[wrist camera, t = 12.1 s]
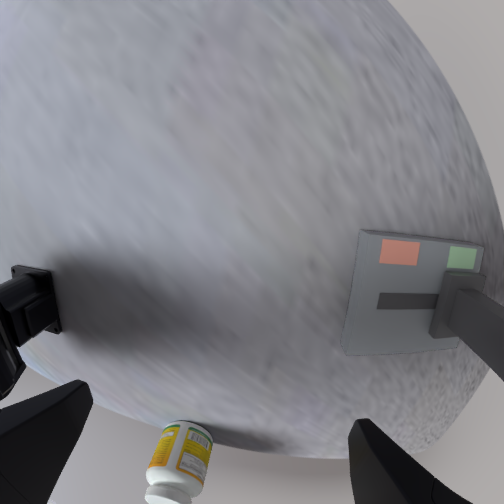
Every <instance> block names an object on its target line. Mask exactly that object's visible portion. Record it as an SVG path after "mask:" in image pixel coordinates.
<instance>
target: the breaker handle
mask: <svg viewBox="0 0 504 504" xmlns="http://www.w3.org/2000/svg"><path fill="white" fill-rule="evenodd" d="M485 279H486V276H484V275H482V274H480V273H470V272H451V271H445V272H444V276H443V281H442V285H441V289H440V293H439V297H438V301H437V305H436V308H435V312H434V315H433V319H432V322H431V325H430V329H429V332H428V333H429V334H430V335H431V337H432V338H433V339H440V338H451V337H459V338H460V339H461V340H462V341H463V342H465V343H466V344H467V345H468V346H469V347H470V348H471V349H472V350H473V351H474V352H475V353H476V354H477V355H478V356H479V357H480V358H481V359H482V360H483V361H484V362H485V363H486V364H487V365H488V366H489V367H490V368H491V369H492V370H493V371H494V372H495V373H496V374H497V375H498V376H499V377H500V378H501V379H502V380H503V381H504V307H503V306H502V305H500V304H498V303H497V302H495V301H494V300H492V299H491V298H489V297H487V296H486V295H484V294H482V291H483V287H484V283H485Z"/></svg>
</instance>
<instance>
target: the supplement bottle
mask: <svg viewBox="0 0 504 504" xmlns="http://www.w3.org/2000/svg"><path fill="white" fill-rule="evenodd" d="M212 445H213V440H212V437H211V435H210V434H209V433H208V431H206V430H205V429H204V428H202V427H201V426H199V425H196V424H194V423H190V422H186V421H176V422H172V423H170V424H168V425H167V426H166V427H165V429H164V431H163V433H162V436H161V438H160V440H159V443H158V445H157V448H156V450H155V453H154V455H153V457H152V460H151V462H150V464H149V467H148V470H147V472H146V478H147V481H148V482H149V484H150V485H151V486H150V487H149V488H148V489H147V492H146V495H145V500H146V501H147V502H148V503H149V504H191V503H192V501H191V498H193V497H196V496H198V495H199V494H200V493H201V491H202V489H203V485H204V480H205V476H206V472H207V467H208V463H209V458H210V454H211V450H212Z"/></svg>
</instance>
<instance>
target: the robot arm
mask: <svg viewBox="0 0 504 504" xmlns="http://www.w3.org/2000/svg"><path fill="white" fill-rule="evenodd" d="M11 272H12V278H13V279H11V280H8V281H6V282H4V283H2V284H0V401H1V400H2V399H4V398H5V397H6V396H8V395H9V393H10V392H11V390H12V389H13V387H14V385H15V384H16V382H17V381H18V379H19V378H20V376H21V374H22V373H23V371H24V370H25V368H26V364H25V362H24V361H23V360H22V358H21V356H20V354H19V351H18V349H17V347H21V346H22V345H23V344H25V343H26V342H27V341H29V340H30V339H31V338H34V337H35V336H37V335H38V334H39V333H41V332H42V331H43V330H45V331H48V332H51V333H54V334H60V333H61V332H62V329H61V325H60V320H59V316H58V311H57V306H56V301H55V295H54V290H53V283H52V277H51V274H50V272H48V271H44V270H38V269H32V268H27V267H21V266H16V265H15V266H12V267H11ZM92 405H93V397H92V394H91V391H90V388H89V385H88V384H87V383H86V382H84V381H81V380H74V381H72V382H69V383H67V384H64V385H62V386H60V387H57V388H55V389H52V390H50V391H47V392H45V393H42V394H39V395H37V396H34V397H32V398H29V399H26V400H24V401H21V402H19V403H16V404H13V405H11V406H8V407H5V408H3V409H0V504H47V502H48V500H49V497H50V495H51V493H52V491H53V489H54V487H55V485H56V483H57V480H58V478H59V476H60V474H61V472H62V470H63V468H64V466H65V464H66V462H67V460H68V458H69V456H70V454H71V452H72V451H73V449H74V447H75V445H76V443H77V441H78V439H79V437H80V435H81V432H82V430H83V428H84V425H85V422H86V420H87V417H88V415H89V412H90V410H91V408H92ZM348 446H349V460H350V477H351V484H352V489H353V495H354V500H355V504H473V503H471V502H469V501H467V500H466V499H464V498H462V497H461V496H459V495H458V494H456V493H455V492H453V491H452V490H450V489H449V488H448V487H447V486H445V485H444V484H443V483H442V482H440V481H439V480H438V479H437V478H434V476H433V475H432V474H431V473H429V472H428V471H427V470H426V469H425V468H424V467H422V466H421V465H420V464H419V463H418V462H417V461H415V460H414V459H413V458H412V457H411V456H410V455H409V454H408V453H406V452H405V451H404V450H403V449H402V448H401V447H400V446H398V445H397V444H396V443H395V442H394V441H393V440H392V439H391V438H390V437H388V436H387V435H386V434H385V433H384V432H383V431H382V430H381V429H380V428H379V427H377V426H376V425H375V424H374V423H373V422H372V421H371V420H370V419H368V418H364V419H357V420H356V421H355V422H354V425H353V427H352V429H351V431H350V433H349V436H348Z"/></svg>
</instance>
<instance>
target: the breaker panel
mask: <svg viewBox="0 0 504 504" xmlns="http://www.w3.org/2000/svg"><path fill="white" fill-rule="evenodd" d="M483 251H484V247H481V246H479V245H476V244H473V243H470V242H463V241H456V240H448V239H440V238H432V237H424V236H415V235H407V234H398V233H388V232H379V231H369V230H360V232H359V240H358V248H357V255H356V262H355V269H354V275H353V281H352V287H351V293H350V298H349V304H348V309H347V314H346V319H345V324H344V329H343V333H342V338H341V345H342V347H343V349H344V352H345V354H346V356H360V355H385V354H401V353H414V352H425V351H435V350H443V349H451V348H457V345H458V342H459V340H460V338H459V337H451V338H440V339H433V338H432V337H431V335H430V334H429V333H428V332H429V329H430V325H431V322H432V319H433V315H434V312H435V308H436V305H437V301H438V297H439V293H440V289H441V285H442V281H443V276H444V272H445V271H451V272H470V273H479V271H480V267H481V262H482V257H483Z"/></svg>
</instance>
